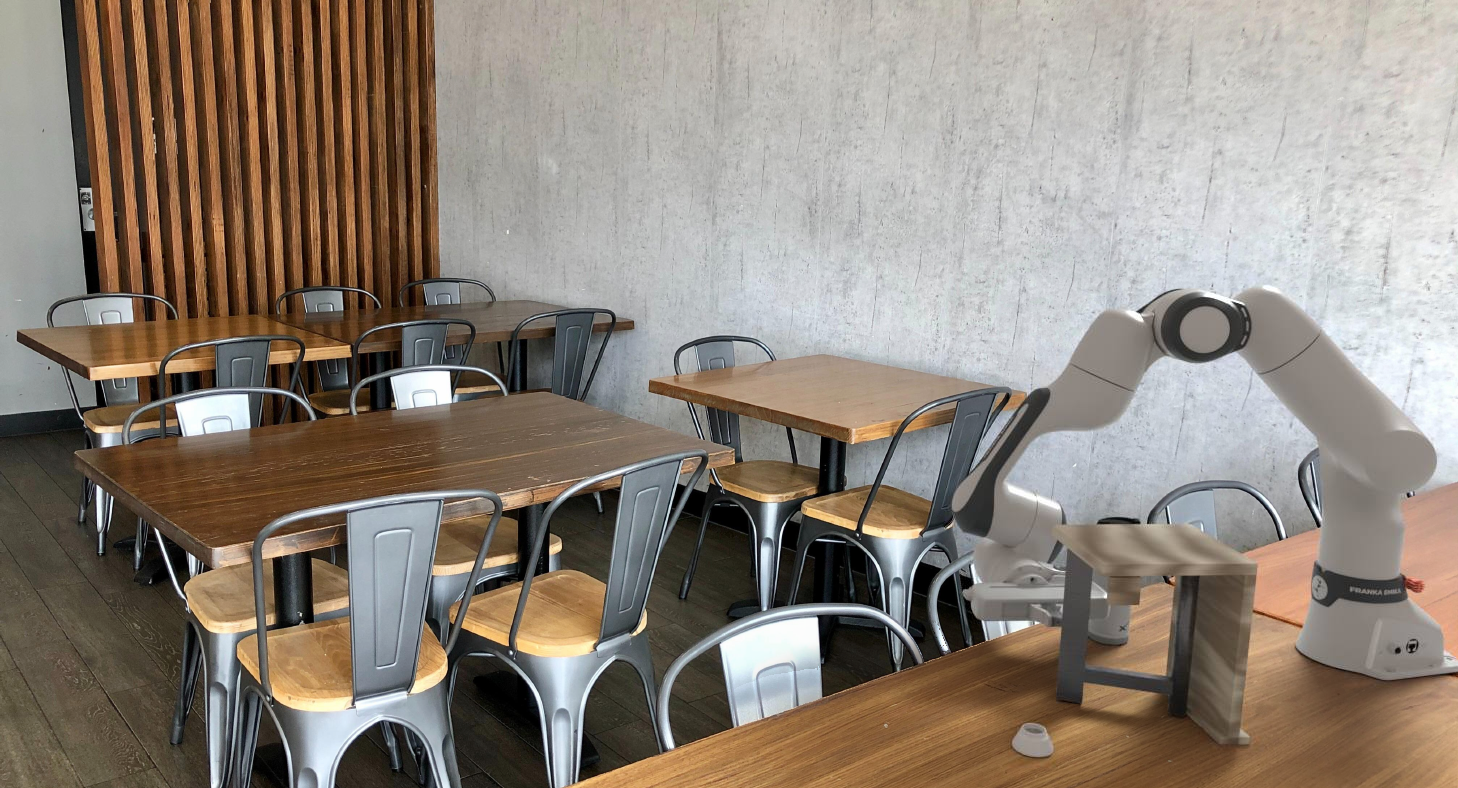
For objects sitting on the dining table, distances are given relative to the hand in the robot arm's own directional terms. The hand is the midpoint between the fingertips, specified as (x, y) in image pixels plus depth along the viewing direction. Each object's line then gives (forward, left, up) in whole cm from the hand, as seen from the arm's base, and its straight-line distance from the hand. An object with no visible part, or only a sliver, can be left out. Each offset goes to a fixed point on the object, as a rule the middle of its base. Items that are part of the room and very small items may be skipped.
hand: (1058, 622), depth 153 cm
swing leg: (-7, +6, -10) cm, 14 cm away
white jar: (+9, +17, -10) cm, 22 cm away
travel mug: (-16, -18, -10) cm, 26 cm away
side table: (-8, +9, -10) cm, 16 cm away
